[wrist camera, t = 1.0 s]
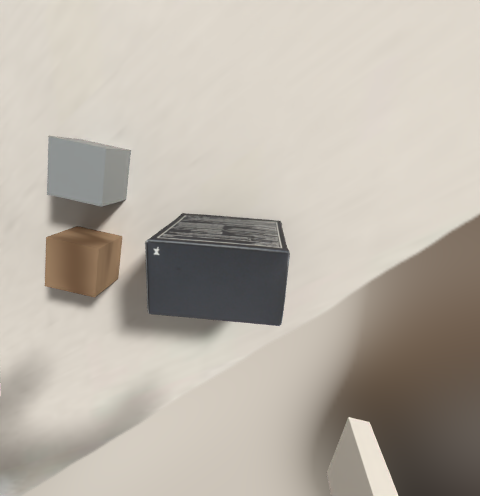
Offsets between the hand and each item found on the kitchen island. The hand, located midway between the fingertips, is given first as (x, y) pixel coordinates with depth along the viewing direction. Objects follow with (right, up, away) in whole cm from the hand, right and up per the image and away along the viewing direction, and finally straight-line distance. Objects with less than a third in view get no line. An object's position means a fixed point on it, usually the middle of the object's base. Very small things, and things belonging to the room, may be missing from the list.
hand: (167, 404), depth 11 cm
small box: (+2, +6, +21) cm, 22 cm away
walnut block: (-13, +5, +22) cm, 26 cm away
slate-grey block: (-11, +14, +20) cm, 27 cm away
